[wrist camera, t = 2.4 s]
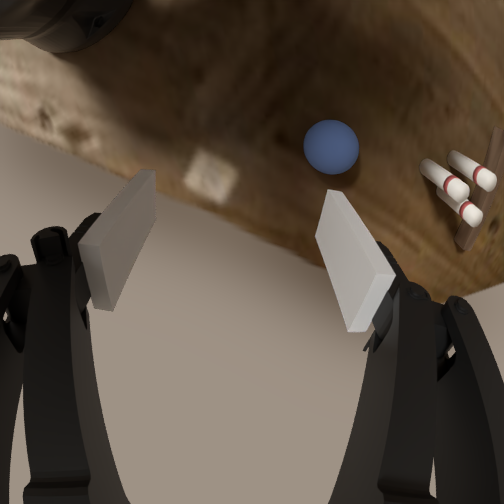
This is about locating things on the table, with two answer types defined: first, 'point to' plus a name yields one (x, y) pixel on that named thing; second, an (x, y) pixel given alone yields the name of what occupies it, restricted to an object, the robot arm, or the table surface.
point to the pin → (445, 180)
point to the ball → (331, 147)
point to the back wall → (497, 161)
